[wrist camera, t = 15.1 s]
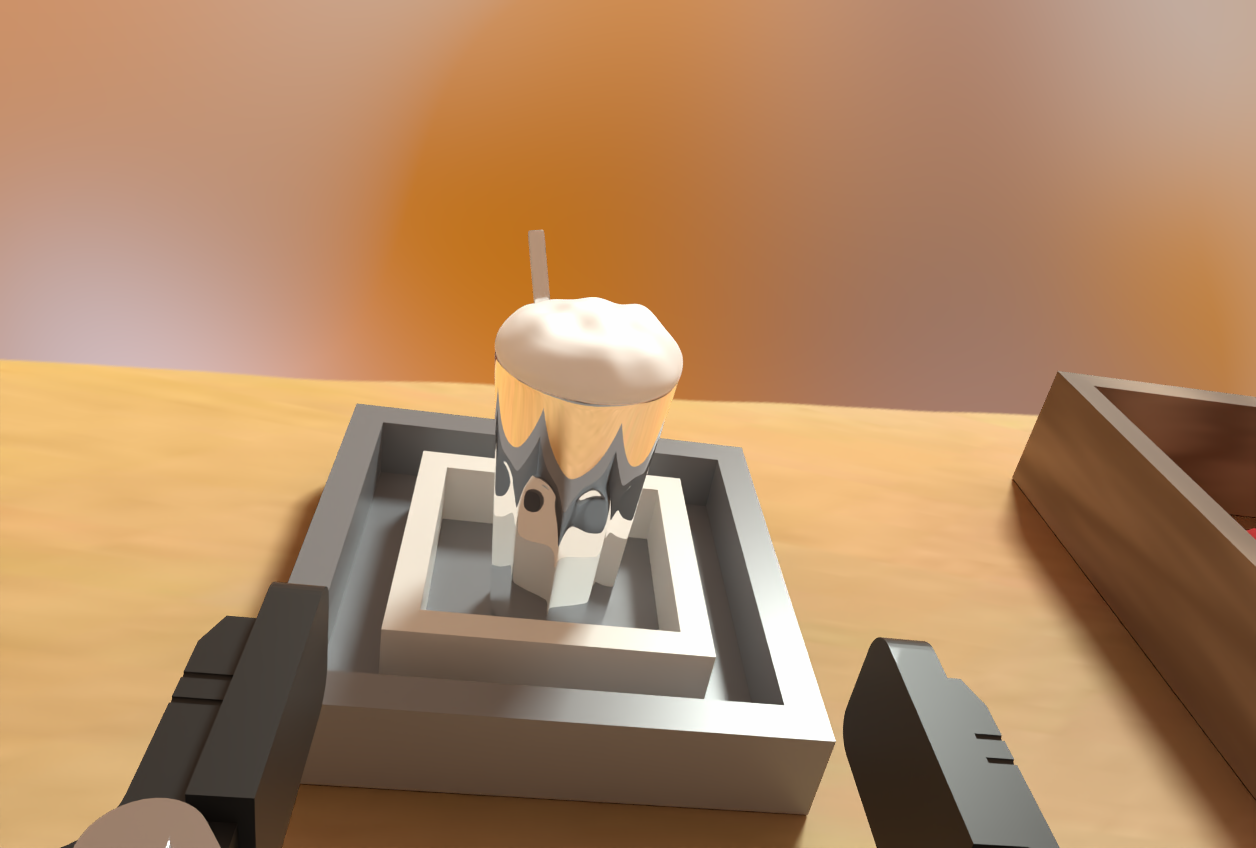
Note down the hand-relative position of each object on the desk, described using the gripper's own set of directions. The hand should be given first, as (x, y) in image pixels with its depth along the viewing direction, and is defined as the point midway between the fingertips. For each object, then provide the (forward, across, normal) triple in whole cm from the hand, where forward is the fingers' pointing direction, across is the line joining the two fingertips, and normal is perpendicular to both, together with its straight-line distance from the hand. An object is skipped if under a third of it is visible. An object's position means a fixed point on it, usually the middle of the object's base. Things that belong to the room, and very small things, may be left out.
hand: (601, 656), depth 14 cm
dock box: (+11, 0, +9) cm, 14 cm away
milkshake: (+11, 0, +8) cm, 14 cm away
